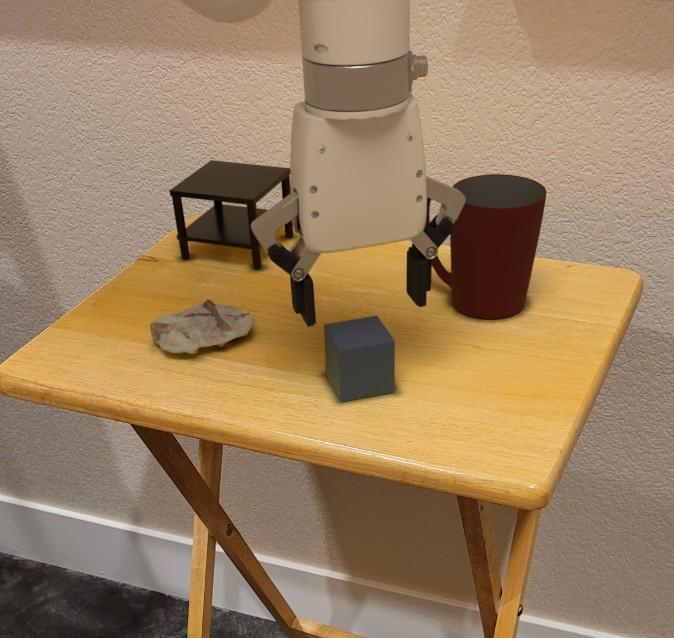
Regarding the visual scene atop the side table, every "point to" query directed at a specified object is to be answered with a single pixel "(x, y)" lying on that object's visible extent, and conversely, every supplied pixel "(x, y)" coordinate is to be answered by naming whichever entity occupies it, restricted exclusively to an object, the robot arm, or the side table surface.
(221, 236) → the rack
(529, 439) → the side table surface
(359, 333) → the block
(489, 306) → the mug
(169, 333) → the stone
